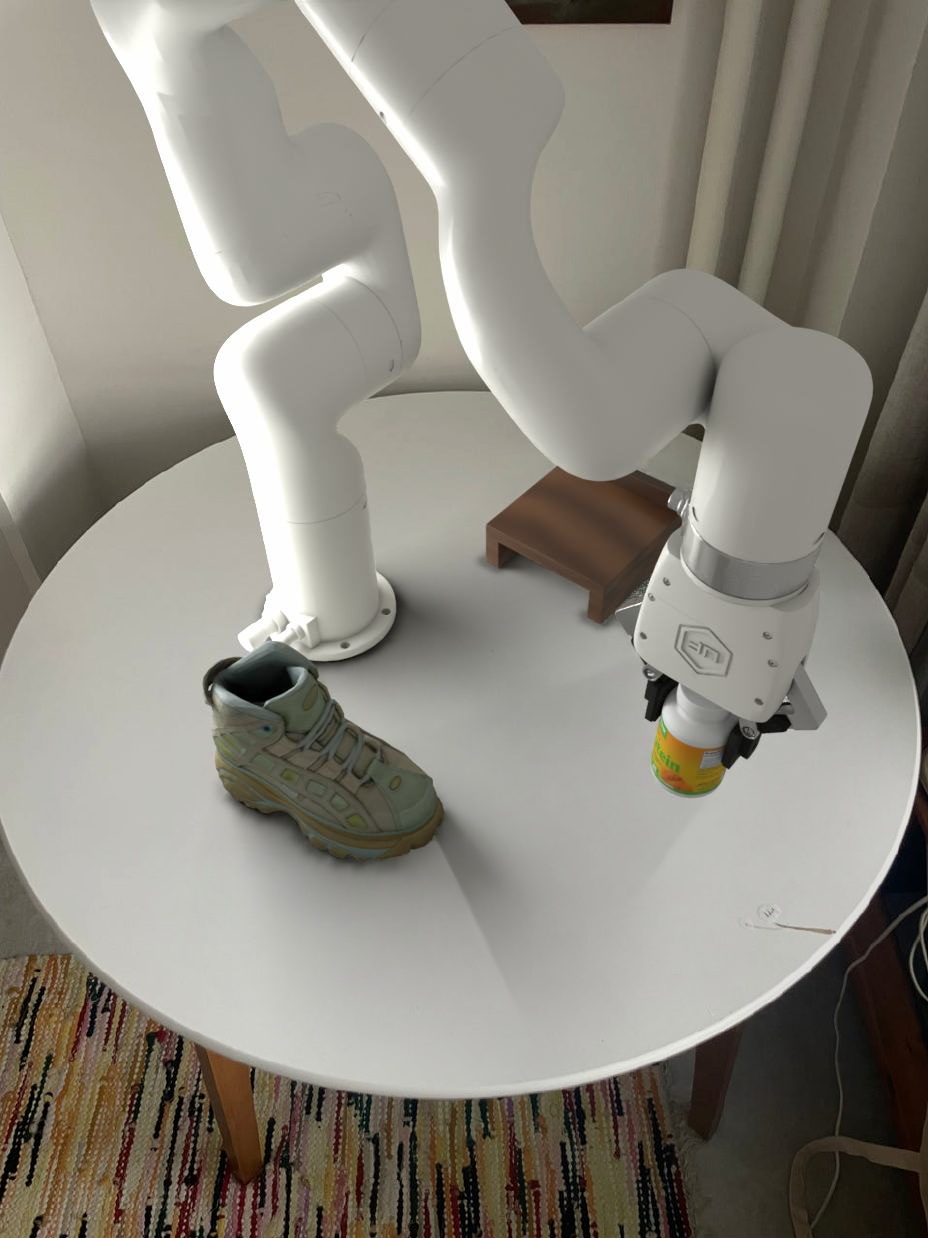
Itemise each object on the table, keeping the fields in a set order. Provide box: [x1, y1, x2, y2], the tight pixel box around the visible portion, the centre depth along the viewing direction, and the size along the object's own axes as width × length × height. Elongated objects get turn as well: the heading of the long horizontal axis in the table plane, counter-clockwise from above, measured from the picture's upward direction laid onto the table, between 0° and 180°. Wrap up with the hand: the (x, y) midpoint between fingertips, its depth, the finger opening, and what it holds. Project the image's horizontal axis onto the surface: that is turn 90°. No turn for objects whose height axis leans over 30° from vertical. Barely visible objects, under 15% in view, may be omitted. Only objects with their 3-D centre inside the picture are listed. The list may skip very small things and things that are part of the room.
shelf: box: [485, 465, 683, 625], centre depth 101 cm, size 14×14×7 cm
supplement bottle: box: [649, 683, 739, 799], centre depth 72 cm, size 5×5×10 cm
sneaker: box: [201, 639, 445, 862], centre depth 79 cm, size 11×19×15 cm, turn 53°
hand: (697, 729), depth 72 cm, fingers closed on supplement bottle, 5 cm apart
